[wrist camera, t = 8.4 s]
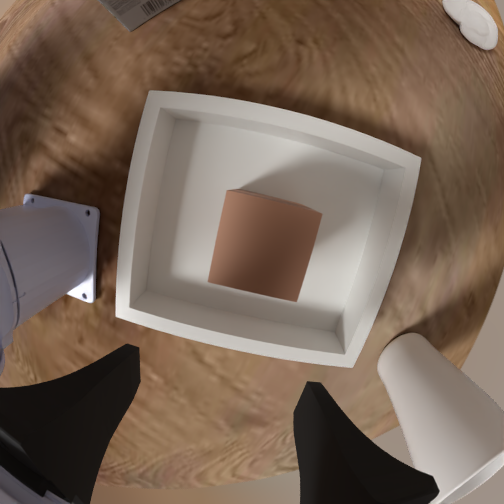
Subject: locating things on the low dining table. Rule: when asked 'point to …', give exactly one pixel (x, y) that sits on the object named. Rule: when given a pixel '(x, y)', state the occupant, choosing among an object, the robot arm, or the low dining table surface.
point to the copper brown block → (263, 244)
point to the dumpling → (473, 22)
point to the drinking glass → (442, 417)
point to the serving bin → (272, 184)
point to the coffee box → (135, 10)
